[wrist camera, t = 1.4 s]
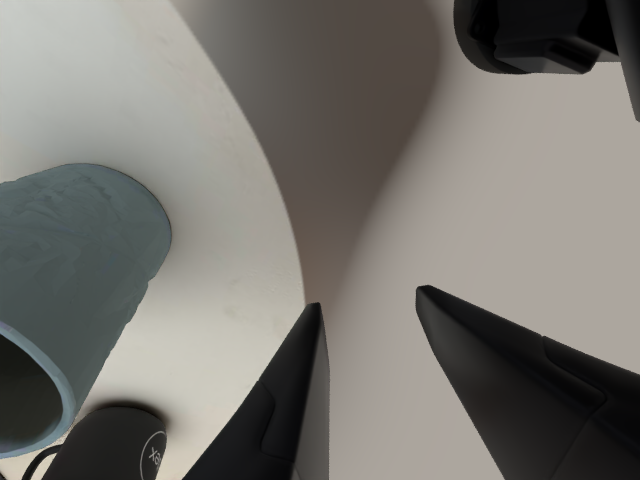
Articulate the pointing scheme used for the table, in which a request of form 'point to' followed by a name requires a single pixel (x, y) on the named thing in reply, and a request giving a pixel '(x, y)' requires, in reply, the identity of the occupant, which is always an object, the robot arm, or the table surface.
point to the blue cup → (67, 290)
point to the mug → (107, 448)
